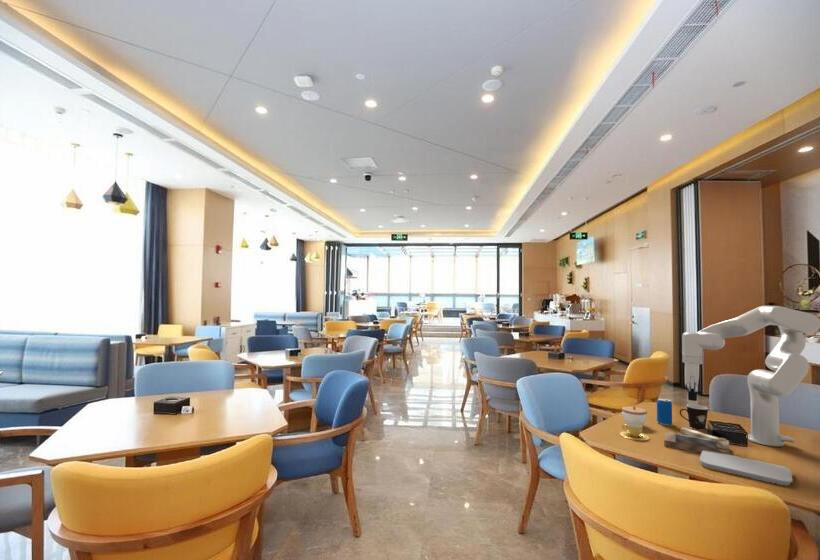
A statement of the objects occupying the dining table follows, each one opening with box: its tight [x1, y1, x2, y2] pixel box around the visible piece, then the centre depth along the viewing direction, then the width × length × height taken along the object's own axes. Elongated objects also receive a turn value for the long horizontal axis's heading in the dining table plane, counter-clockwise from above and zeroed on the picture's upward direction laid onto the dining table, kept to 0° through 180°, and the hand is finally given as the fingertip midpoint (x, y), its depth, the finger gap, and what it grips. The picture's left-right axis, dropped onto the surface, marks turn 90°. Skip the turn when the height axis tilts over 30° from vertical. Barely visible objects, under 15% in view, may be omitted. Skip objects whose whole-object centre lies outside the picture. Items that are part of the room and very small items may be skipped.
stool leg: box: [679, 427, 730, 449], centre depth 171 cm, size 18×3×4 cm, turn 24°
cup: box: [619, 423, 650, 441], centre depth 184 cm, size 12×12×5 cm
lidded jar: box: [621, 405, 648, 426], centre depth 200 cm, size 11×11×9 cm
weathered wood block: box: [663, 431, 731, 455], centre depth 172 cm, size 22×13×6 cm, turn 54°
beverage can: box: [656, 397, 673, 426], centre depth 203 cm, size 6×6×12 cm
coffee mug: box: [679, 403, 709, 430], centre depth 198 cm, size 12×9×10 cm
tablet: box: [699, 450, 794, 487], centre depth 150 cm, size 16×26×2 cm, turn 50°
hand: (692, 400), depth 183 cm, fingers closed
